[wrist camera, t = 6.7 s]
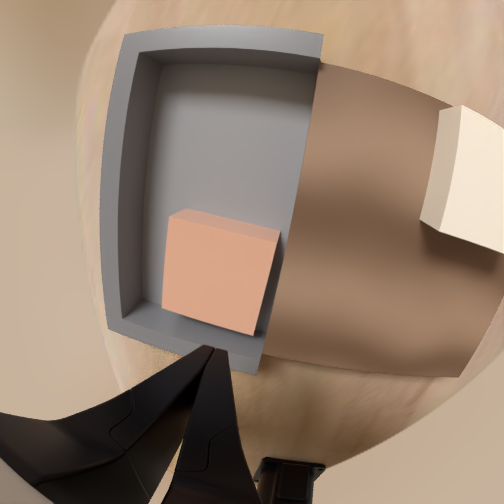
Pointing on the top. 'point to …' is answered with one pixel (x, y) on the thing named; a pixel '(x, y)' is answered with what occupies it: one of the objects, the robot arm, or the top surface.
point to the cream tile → (467, 179)
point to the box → (199, 163)
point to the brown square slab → (377, 242)
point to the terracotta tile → (217, 269)
